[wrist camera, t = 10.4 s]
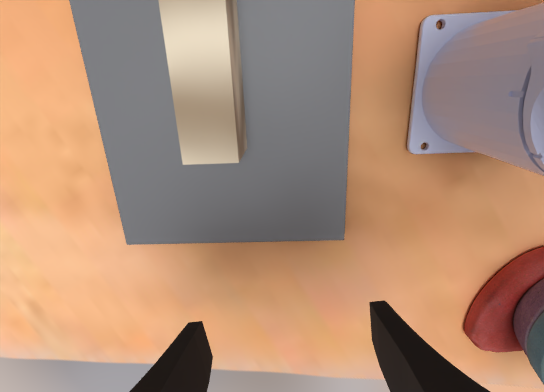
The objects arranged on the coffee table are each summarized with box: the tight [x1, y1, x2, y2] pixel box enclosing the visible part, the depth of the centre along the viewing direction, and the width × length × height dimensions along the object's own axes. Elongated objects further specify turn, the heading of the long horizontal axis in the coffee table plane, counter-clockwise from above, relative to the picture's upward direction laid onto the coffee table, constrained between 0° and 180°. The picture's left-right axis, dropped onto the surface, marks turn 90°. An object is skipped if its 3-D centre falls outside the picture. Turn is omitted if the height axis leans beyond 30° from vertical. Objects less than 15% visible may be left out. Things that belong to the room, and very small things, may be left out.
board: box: [69, 0, 355, 245], centre depth 18 cm, size 16×28×1 cm, turn 3°
